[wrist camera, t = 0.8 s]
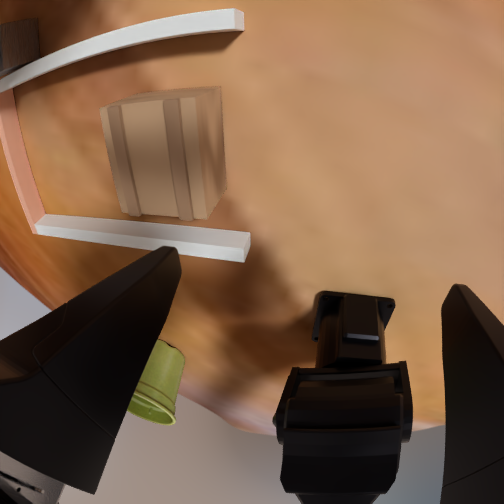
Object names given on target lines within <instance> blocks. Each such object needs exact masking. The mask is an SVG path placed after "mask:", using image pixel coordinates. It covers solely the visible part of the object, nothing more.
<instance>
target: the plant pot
mask: <svg viewBox="0 0 504 504" xmlns="http://www.w3.org/2000/svg"><path fill="white" fill-rule="evenodd" d="M184 364H185V358H184V356H183V355H182V353H181V352H180V351H179V350H177V349H176V348H172V347H170V346H169V345H167V344H166V342H164V341H161V340H158V339H157V342H156V344H155V346H154V348H153V350H152V353H151V355H150V357H149V360H148V362H147V364H146V366H145V369H144V371H143V373H142V376H141V378H140V380H139V383H138V385H137V387H136V390H135V392H134V394H133V397H132V399H131V402H130V404H129V406H128V409H127V411H128V412H130V413H132V414H134V415H136V416H138V417H140V418H142V419H145V420H148V421H151V422H153V423H157V424H162V425H173V424H175V422H176V418H175V416H174V414H175V401H176V397H177V393H178V389H179V384H180V380H181V376H182V372H183V368H184Z"/></svg>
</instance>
